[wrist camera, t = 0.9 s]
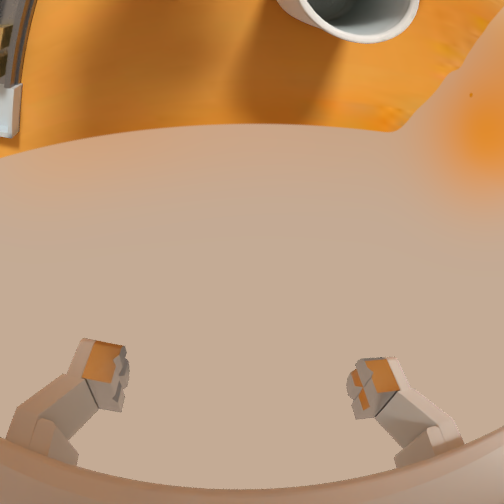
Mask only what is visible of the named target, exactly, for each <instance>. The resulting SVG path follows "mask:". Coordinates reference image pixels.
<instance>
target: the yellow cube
mask: <svg viewBox="0 0 504 504" xmlns="http://www.w3.org/2000/svg"><path fill="white" fill-rule="evenodd" d="M7 57H8V53H0V78H1V77H2V76H4V75H5V72H6V64H7Z"/></svg>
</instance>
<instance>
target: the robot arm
mask: <svg viewBox="0 0 504 504" xmlns="http://www.w3.org/2000/svg"><path fill="white" fill-rule="evenodd" d="M125 356H126V348H125V346H122V345H116V344H111V343H106V342H101V341H96V340H91V339H87V338H83V339H82V340H81V341H80V343H79V345H78V347H77V350H76V352H75V355H74V357H73V360H72V362H71V365H70V367H69V370H68V372H67V375H66V374H62V375H61V376H59V377H58V378H56V379H55V380H54V381H52V382H51V383H50V384H48V385H47V386H46V387H44V388H43V389H41V390H40V391H39V392H37V393H36V394H35V395H33V396H32V397H30V398H29V399H28V400H26V401H25V402H24V403H22V404H21V405H20V406H18V407H17V409H16V411H15V414H14V416H13V419H12V421H11V424H10V427H9V430H8V433H7V436H6V439H3V438H1V437H0V504H504V426H502V427H500V428H499V429H497V430H495V431H493V432H491V433H489V434H487V435H485V436H482V437H480V438H478V439H476V440H474V441H471V442H469V443H467V444H464V442H463V440H462V437H461V435H460V433H459V430H458V428H457V426H456V423H455V421H454V419H453V418H451V417H450V416H449V415H447V414H446V413H445V412H444V411H442V410H441V409H440V408H438V407H437V406H436V405H435V404H433V403H432V402H430V400H428V399H427V398H426V397H424V396H423V395H422V394H421V393H419V392H418V391H417V390H416V389H411V387H410V385H409V382H408V380H407V378H406V376H405V374H404V372H403V369H402V367H401V365H400V363H399V361H398V359H397V358H396V357H384V358H382V357H380V358H365V359H360V360H358V361H357V363H356V365H355V366H356V369H355V370H354V371H352V372H351V373H350V375H349V377H348V379H347V392H348V395H349V396H350V397H351V398H352V399H353V400H354V401H353V403H352V408H353V412H354V415H355V418H356V419H365V418H374V417H375V419H376V420H377V421H378V422H379V424H380V425H381V426H382V427H383V428H384V429H385V430H386V431H387V432H388V433H389V434H390V435H391V436H392V437H393V439H395V441H396V442H397V443H398V444H399V445H400V446H401V447H402V448H403V450H401V451H400V452H399V453H398V454H396V455H395V457H394V460H395V464H396V467H397V468H396V469H392V470H388V471H385V472H381V473H376V474H372V475H368V476H363V477H359V478H353V479H348V480H343V481H337V482H331V483H324V484H318V485H309V486H300V487H288V488H275V489H245V490H244V489H243V490H238V489H236V490H235V489H231V490H230V489H204V488H191V487H180V486H170V485H162V484H155V483H149V482H143V481H137V480H131V479H126V478H122V477H117V476H112V475H108V474H104V473H99V472H96V471H91V470H88V469H84V468H81V467H77V466H76V465H77V460H78V455H79V454H78V453H77V451H76V450H75V449H74V447H73V446H72V445H71V444H70V443H69V442H68V440H69V439H70V438H71V437H72V436H73V435H74V434H75V433H76V432H77V431H78V430H79V429H80V428H81V427H82V426H83V425H84V424H85V423H86V422H87V421H88V420H89V419H90V418H91V417H92V416H93V415H94V414H95V413H96V412H97V411H98V408H99V409H105V410H110V411H116V412H122V407H123V403H124V398H125V396H124V393H123V389H124V388H126V387H127V385H128V380H129V362H128V360H127V359H126V358H125Z"/></svg>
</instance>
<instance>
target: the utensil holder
mask: <svg viewBox="0 0 504 504" xmlns="http://www.w3.org/2000/svg"><path fill="white" fill-rule="evenodd" d="M276 1H277V2H278V4H279V5H280V6H281V7H282V9H283V10H284V11H286V12H287V13H288V14H289V15H291V16H292V17H294V18H296V19H298V20H300V21H302V22H304V23H307V24H309V25H312V26H315V27H317V28H320V29H322V30H324V31H326V32H327V33H329V34H331V35H333V36H335V37H338V38H340V39H343V40H346V41H350V42H355V43H365V44H370V43H379V42H383V41H387V40H389V39H392V38H394V37H396V36H397V35H399V34H400V33H402V32H403V31H404V30H405V29H406V28H407V27H408V26H409V25H410V24H411V22H412V21H413V19H414V17H415V15H416V13H417V9H418V6H419V0H276Z"/></svg>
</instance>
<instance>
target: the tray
mask: <svg viewBox="0 0 504 504" xmlns="http://www.w3.org/2000/svg"><path fill="white" fill-rule="evenodd" d="M22 84H23V83H20V84H19V85H15V86H13V87H12V88H10V89H9V88H4V84H0V137H6V138H13V137H14V136H15V135H16V134H17V133H18V132H19V123H20V106H21V94H22Z"/></svg>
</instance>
